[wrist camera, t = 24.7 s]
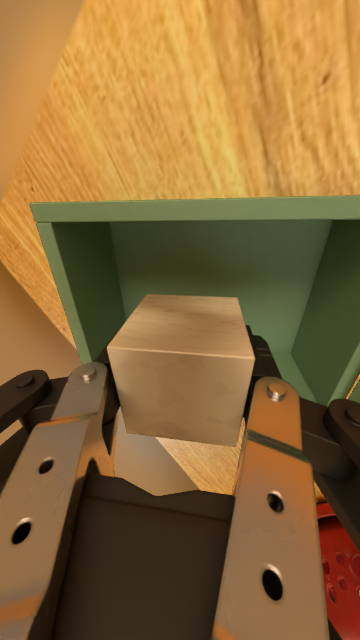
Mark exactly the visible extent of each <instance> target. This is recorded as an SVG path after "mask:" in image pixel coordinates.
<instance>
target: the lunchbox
mask: <svg viewBox="0 0 360 640" xmlns="http://www.w3.org/2000/svg"><path fill="white" fill-rule="evenodd" d="M29 205H30V208H31V211H32V214H33V217H34V220H35V222H37V223H36V226H37V229H38V232H39V235H40V238H41V241H42V244H43V247H44V250H45V253H46V256H47V259H48V262H49V265H50V268H51V271H52V274H53V277H54V280H55V283H56V286H57V290H58V293H59V296H60V299H61V302H62V305H63V308H64V311H65V314H66V317H67V320H68V323H69V326H70V329H71V332H72V335H73V338H74V341H75V344H76V347H77V350H78V353H79V356H80V359H81V362H82V365H83V364H86V363H89V362H94V361H95V359H96V358H97V357H98V355H99V354H100V353H101V351H102V350H103V349H104V348H105V346H106V345H108V342H109V341H110V340H111V339H112V337H113V336H114V334H115V333H116V332H117V331H119V330H120V329H121V327H122V326H123V325H124V323H125V322H126V321H127V319H128V318H129V317H130V315H131V314H132V313H133V311H134V310H135V309H136V307H137V306H138V305H139V304H140V302H141V301H142V300H143V298H144V297H145V296H146V294H156V295H183V296H209V297H235V298H238V302H239V305H240V309H241V312H242V315H243V319H244V322H245V325H249V326H250V328H251V331H252V334H253V335H260V336H261V337H262V338H263V339H264V340H265V341H267V343H268V345H269V348H270V351H271V353H272V355H273V357H274V360H275V362H276V364H277V367H278V369H279V372H280V374H281V376H282V379H283V380H285V381H286V382H288V383H289V384H291V385H292V386H293V387H294V388H295V389H296V391H297V392H298V395H299V396H300V397H302V398H304V399H307V400H310V401H313V402H316V403H319V404H322V405H325V406H328V405H329V404H330V402H331V401H332V400H334V399H346V397H347V395H348V393H349V392H350V390H351V388H352V386H353V385H354V383H355V381H356V379H357V378H358V376H359V374H360V195H346V196H302V197H258V198H214V199H170V200H126V201H82V202H38V203H29Z"/></svg>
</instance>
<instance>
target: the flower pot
mask: <svg viewBox="0 0 360 640" xmlns="http://www.w3.org/2000/svg"><path fill="white" fill-rule="evenodd" d="M316 508H317V518H318V528H319V539H320V549H321V559H322V569H323V579H324V589H325V599H326V609H327V617H328V618H329V620H330V621H331V623H332V625H333V626H334V628H335V629H336V631H337V632H338V634H339V635H340V637H341V638H342V640H360V596H359V593H358V592H359V590H360V553H359V551H358V549H357V548H356V546H355V545H354V543H353V541H352V540H351V538H350V537H349V535H348V533H347V532H346V530H345V529H344V527H343V526H342V524H341V522H340V521H339V519H338V518H337V516H336V514H335V513H334V511H333V510H332V508H331V506H330V505H329V503H323V504H322V503H318V504H317V505H316ZM332 596H333V597H332Z"/></svg>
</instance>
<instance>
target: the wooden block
mask: <svg viewBox="0 0 360 640" xmlns="http://www.w3.org/2000/svg"><path fill="white" fill-rule="evenodd" d="M107 352H108V356H109V360H110V364H111V368H112V372H113V377H114V381H115V385H116V389H117V393H118V397H119V402H120V406H121V410H122V414H123V418H124V422H125V426H126V431H127V433H131V434H139V435H147V436H154V437H162V438H170V439H178V440H185V441H193V442H201V443H209V444H216V445H224V446H232V447H236V445H237V441H238V436H239V431H240V427H241V422H242V418H243V413H244V408H245V404H246V399H247V395H248V390H249V385H250V381H251V376H252V372H253V367H254V362H255V356H254V353H253V349H252V346H251V342H250V339H249V336H248V332H247V329H246V325H245V322H244V319H243V315H242V312H241V309H240V305H239V302H238V298H235V297H209V296H183V295H156V294H146V296H145V297H144V298H143V300H142V301H141V302H140V304H139V305H138V306H137V307H136V309H135V310H134V311H133V313H132V314H131V315H130V317H129V318H128V319H127V321H126V322H125V323H124V325H123V326H122V327H121V329H120V330H119V331H118V333H117V334H116V335H115V337H114V338H113V339H112V341H111V342H110V343H109V345H108V346H107Z"/></svg>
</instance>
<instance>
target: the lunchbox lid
mask: <svg viewBox="0 0 360 640" xmlns="http://www.w3.org/2000/svg"><path fill="white" fill-rule="evenodd" d="M348 400H352V401H355V402H357V403H360V380H359V381H358V383H357V385H356V386H355V388H354V390H353V392H352V393H351V395H350V397H349V398H348Z"/></svg>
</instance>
